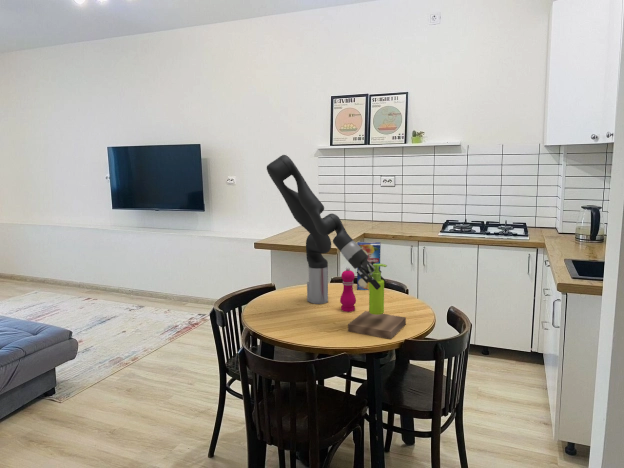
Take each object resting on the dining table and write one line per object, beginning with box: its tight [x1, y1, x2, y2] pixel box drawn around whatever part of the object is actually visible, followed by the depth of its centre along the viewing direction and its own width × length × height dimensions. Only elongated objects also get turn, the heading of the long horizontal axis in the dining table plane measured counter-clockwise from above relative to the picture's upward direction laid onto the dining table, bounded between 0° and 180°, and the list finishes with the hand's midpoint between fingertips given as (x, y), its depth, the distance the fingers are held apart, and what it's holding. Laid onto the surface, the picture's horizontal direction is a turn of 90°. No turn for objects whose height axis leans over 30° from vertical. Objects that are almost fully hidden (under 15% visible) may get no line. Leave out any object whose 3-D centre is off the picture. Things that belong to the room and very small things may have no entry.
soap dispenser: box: [368, 263, 388, 315], centre depth 187 cm, size 6×7×20 cm
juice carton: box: [356, 241, 382, 291], centre depth 245 cm, size 12×8×24 cm, turn 83°
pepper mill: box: [339, 266, 357, 313], centre depth 211 cm, size 7×7×20 cm
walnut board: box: [347, 310, 407, 340], centre depth 190 cm, size 18×18×3 cm
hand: (381, 285), depth 186 cm, fingers closed on soap dispenser, 6 cm apart
